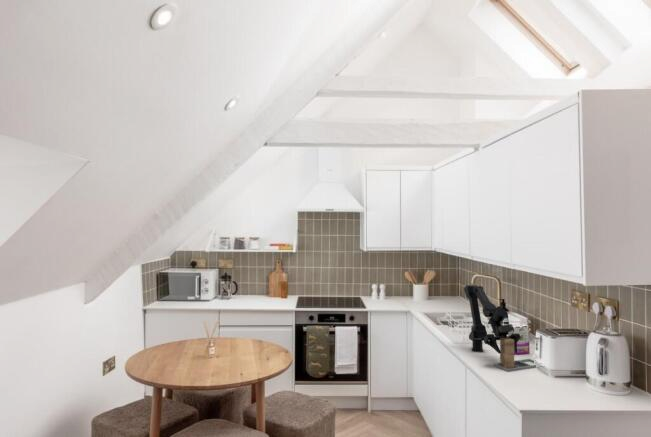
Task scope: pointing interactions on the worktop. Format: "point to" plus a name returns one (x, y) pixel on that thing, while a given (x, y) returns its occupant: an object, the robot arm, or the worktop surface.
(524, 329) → the candy bar box
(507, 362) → the walnut block
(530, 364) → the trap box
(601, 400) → the worktop surface
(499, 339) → the robot arm
